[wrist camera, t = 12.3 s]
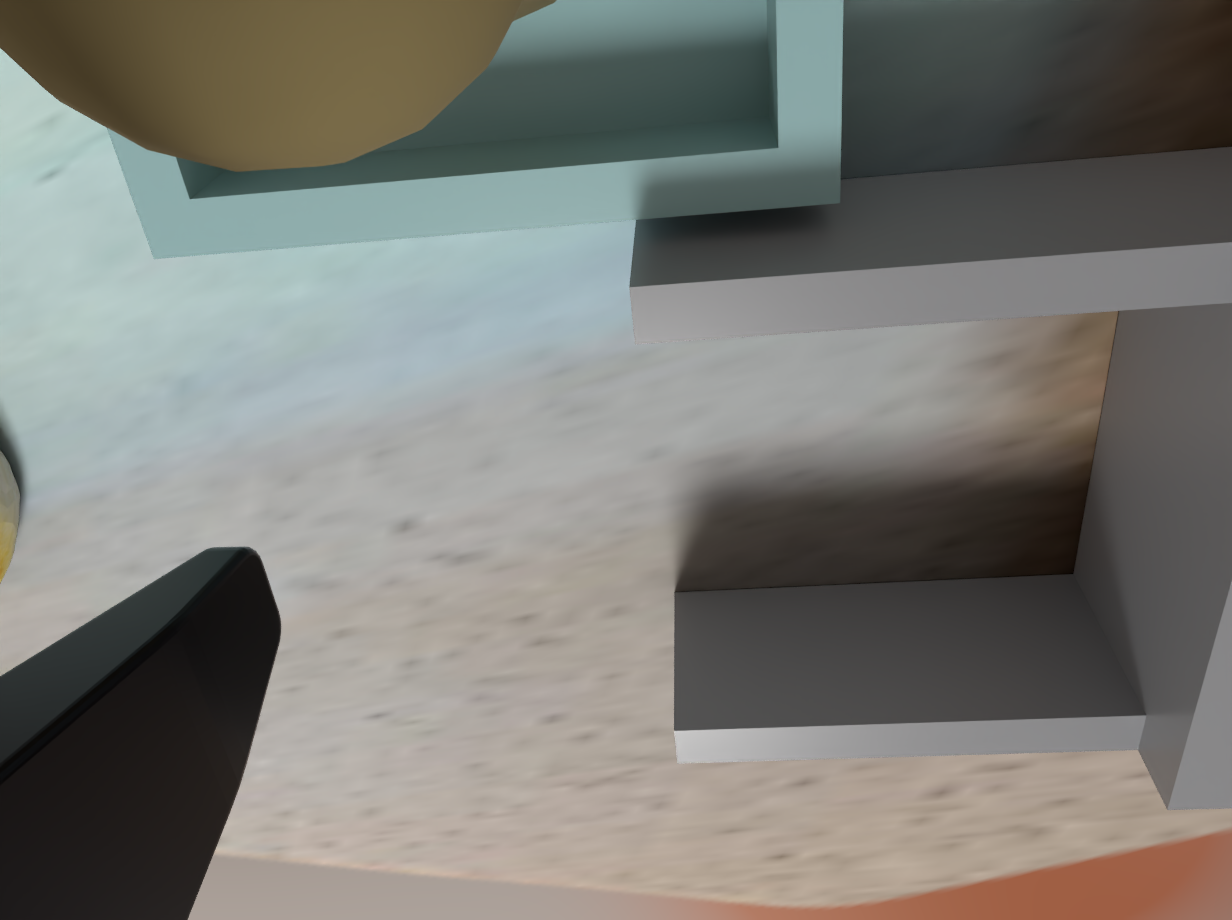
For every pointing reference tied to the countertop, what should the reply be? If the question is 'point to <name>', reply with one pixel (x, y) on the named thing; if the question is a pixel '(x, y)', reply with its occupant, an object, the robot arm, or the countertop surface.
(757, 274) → the bay
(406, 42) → the cork
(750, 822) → the countertop surface
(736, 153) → the tray
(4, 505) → the bread roll
